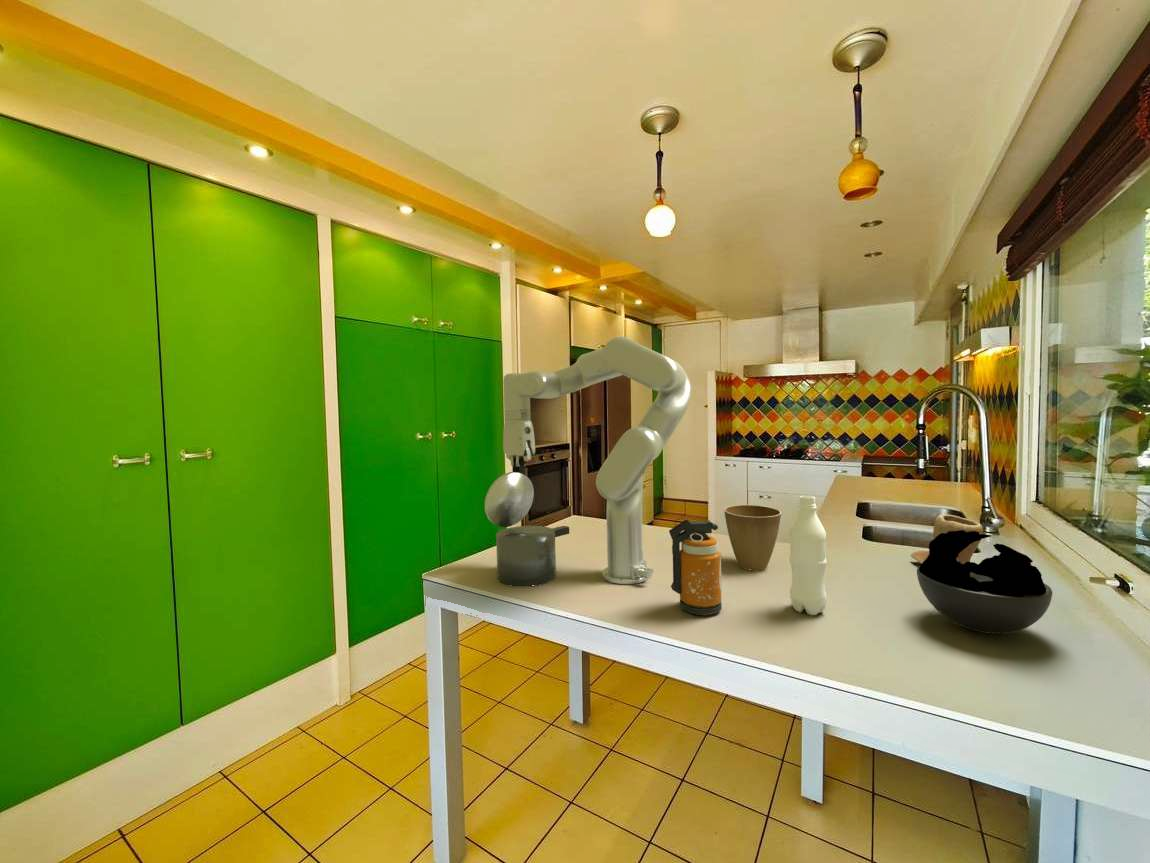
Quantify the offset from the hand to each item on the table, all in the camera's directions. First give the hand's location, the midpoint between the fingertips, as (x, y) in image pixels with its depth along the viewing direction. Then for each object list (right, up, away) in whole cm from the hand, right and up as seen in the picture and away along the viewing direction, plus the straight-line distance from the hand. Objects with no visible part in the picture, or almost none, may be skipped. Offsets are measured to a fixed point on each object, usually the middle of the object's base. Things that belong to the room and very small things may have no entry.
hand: (518, 479), depth 136 cm
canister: (+43, -26, -31) cm, 59 cm away
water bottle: (+67, -25, -34) cm, 79 cm away
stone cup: (+115, -23, -13) cm, 118 cm away
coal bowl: (+96, -25, -44) cm, 108 cm away
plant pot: (+66, -24, -5) cm, 71 cm away
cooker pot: (+5, -26, -4) cm, 26 cm away
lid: (-2, -5, -4) cm, 7 cm away
